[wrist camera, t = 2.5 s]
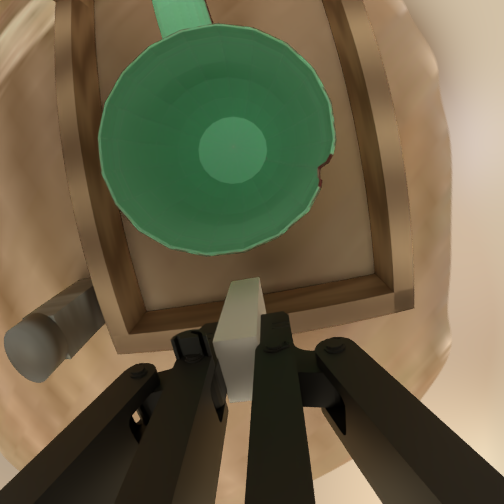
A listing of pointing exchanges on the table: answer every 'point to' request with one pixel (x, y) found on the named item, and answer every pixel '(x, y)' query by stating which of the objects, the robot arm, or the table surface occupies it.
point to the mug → (215, 135)
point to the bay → (114, 241)
